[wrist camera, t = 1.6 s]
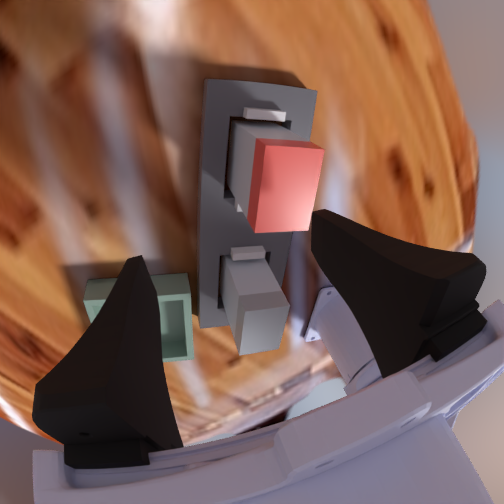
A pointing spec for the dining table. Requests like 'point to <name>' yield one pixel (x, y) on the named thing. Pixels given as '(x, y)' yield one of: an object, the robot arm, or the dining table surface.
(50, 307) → the dining table surface
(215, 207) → the fuse holder
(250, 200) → the block
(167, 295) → the tray
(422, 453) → the robot arm
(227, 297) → the block
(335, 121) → the dining table surface
